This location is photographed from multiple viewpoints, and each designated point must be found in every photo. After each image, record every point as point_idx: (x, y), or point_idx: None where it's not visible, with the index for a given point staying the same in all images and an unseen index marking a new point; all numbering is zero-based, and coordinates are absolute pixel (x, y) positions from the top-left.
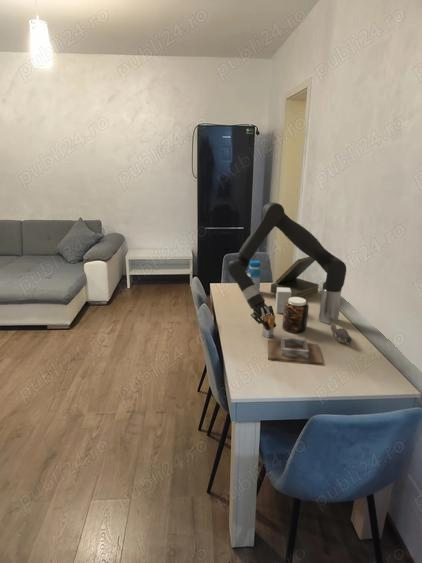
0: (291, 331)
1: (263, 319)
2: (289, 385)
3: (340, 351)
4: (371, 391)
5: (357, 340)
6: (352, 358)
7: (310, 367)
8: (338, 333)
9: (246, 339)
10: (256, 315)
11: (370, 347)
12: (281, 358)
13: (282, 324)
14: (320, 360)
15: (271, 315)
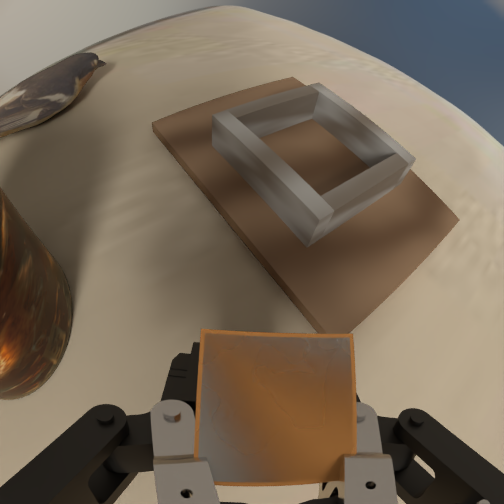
0: (67, 294)
1: (379, 434)
2: (457, 127)
3: (145, 81)
4: (300, 28)
5: None
6: (172, 56)
7: None
8: (59, 78)
9: None
10: (496, 476)
11: None
12: (415, 176)
13: (17, 392)
14: (286, 82)
15: (214, 404)
